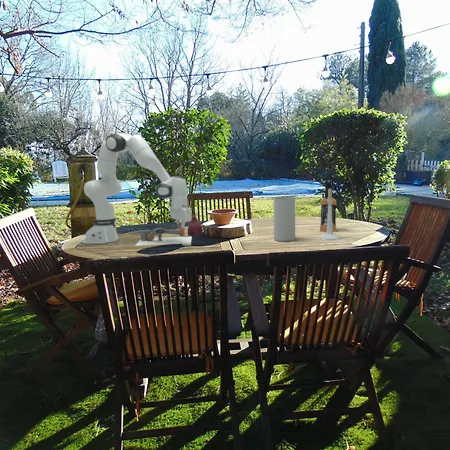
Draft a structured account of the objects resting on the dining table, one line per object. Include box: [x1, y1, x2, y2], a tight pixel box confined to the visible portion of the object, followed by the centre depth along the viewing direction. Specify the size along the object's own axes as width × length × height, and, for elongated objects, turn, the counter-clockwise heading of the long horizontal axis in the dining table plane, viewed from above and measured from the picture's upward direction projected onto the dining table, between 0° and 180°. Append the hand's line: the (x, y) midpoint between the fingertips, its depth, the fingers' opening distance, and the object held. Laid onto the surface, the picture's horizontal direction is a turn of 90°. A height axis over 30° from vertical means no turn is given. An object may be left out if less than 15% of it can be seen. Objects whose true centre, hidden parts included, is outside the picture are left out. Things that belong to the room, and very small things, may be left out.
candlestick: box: [318, 188, 342, 241], centre depth 234 cm, size 13×13×30 cm
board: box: [135, 229, 193, 247], centre depth 238 cm, size 32×21×7 cm, turn 93°
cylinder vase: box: [273, 196, 296, 243], centre depth 234 cm, size 12×12×25 cm
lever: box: [151, 221, 186, 237], centre depth 234 cm, size 20×7×8 cm, turn 60°
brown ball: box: [147, 232, 155, 241], centre depth 240 cm, size 4×4×4 cm
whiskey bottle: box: [319, 181, 337, 232], centre depth 258 cm, size 10×10×32 cm
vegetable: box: [187, 214, 204, 236], centre depth 262 cm, size 10×10×15 cm
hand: (181, 227), depth 230 cm, fingers open, 3 cm apart
